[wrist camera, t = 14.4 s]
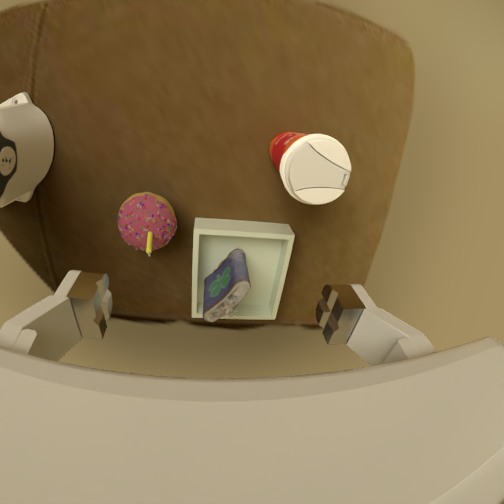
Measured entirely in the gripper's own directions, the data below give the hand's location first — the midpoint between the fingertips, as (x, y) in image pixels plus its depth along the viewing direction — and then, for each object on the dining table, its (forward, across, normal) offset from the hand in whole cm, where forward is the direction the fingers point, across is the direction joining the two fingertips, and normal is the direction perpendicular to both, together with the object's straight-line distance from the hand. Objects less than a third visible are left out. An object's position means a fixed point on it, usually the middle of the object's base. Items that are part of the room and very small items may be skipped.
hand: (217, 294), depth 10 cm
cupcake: (+32, +8, +10) cm, 35 cm away
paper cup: (+32, -11, -1) cm, 34 cm away
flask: (+31, -4, +19) cm, 36 cm away
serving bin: (+32, -6, +19) cm, 37 cm away
